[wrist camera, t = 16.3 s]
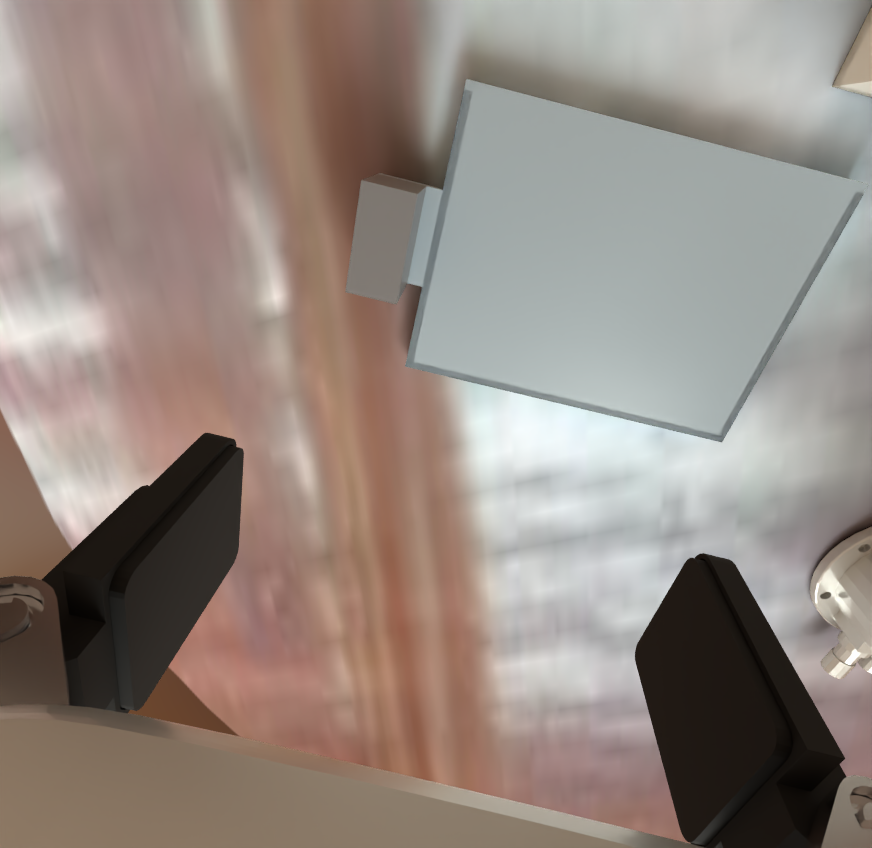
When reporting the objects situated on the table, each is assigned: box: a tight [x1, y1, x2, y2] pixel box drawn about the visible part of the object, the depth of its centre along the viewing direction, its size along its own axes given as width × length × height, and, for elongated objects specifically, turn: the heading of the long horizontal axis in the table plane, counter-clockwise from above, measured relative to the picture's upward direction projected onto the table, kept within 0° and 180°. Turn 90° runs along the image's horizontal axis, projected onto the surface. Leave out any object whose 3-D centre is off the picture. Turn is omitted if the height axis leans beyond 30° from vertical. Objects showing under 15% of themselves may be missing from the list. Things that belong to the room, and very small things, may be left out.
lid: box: [345, 79, 869, 442], centre depth 33 cm, size 18×28×7 cm, turn 78°
